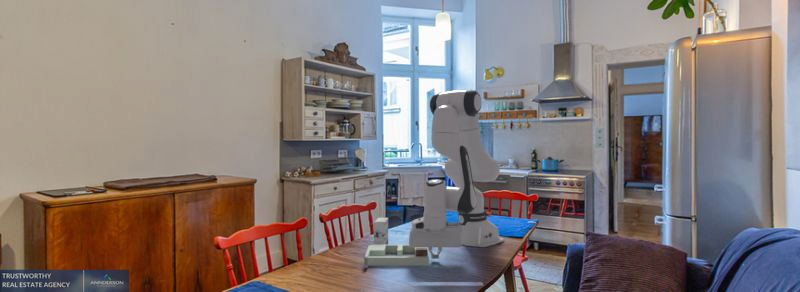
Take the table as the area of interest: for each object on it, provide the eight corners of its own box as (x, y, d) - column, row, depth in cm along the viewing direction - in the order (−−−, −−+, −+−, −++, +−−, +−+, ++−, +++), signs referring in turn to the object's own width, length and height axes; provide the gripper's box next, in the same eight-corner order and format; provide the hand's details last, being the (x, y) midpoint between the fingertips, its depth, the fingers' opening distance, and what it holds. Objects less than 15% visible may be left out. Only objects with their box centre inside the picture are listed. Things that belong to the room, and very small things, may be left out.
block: (427, 259, 151) (427, 247, 151) (427, 263, 146) (427, 251, 146) (415, 259, 151) (415, 247, 151) (415, 263, 147) (415, 251, 146)
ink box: (378, 242, 178) (378, 217, 177) (389, 243, 177) (388, 217, 176) (373, 248, 169) (373, 221, 169) (384, 248, 168) (384, 221, 168)
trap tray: (427, 254, 160) (426, 244, 160) (428, 268, 144) (428, 257, 144) (369, 253, 161) (369, 244, 161) (364, 268, 145) (364, 257, 144)
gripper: (461, 220, 151) (461, 255, 151) (408, 220, 151) (408, 255, 152) (463, 224, 145) (463, 261, 145) (408, 224, 145) (408, 260, 146)
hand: (435, 258), depth 148 cm, fingers closed
